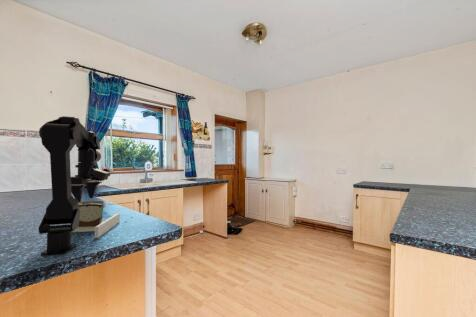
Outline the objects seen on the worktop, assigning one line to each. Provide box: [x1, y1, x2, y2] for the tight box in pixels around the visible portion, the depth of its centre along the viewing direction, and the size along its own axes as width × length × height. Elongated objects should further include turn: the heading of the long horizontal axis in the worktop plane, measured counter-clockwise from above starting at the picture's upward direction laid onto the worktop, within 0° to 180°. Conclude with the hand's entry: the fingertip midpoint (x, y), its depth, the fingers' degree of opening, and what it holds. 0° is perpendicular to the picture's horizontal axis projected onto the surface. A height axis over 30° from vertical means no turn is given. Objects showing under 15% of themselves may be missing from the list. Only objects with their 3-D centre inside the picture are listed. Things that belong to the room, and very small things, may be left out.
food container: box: [78, 200, 106, 227], centre depth 91 cm, size 12×6×10 cm, turn 98°
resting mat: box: [72, 221, 103, 233], centre depth 89 cm, size 12×15×1 cm
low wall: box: [94, 212, 121, 239], centre depth 87 cm, size 20×1×4 cm, turn 9°
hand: (85, 199), depth 88 cm, fingers open, 9 cm apart
